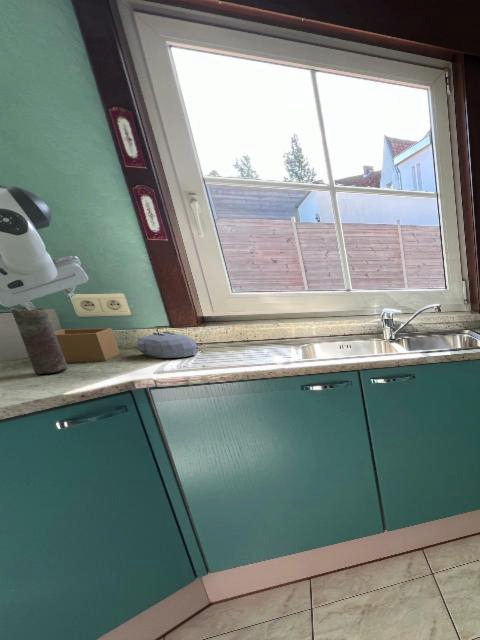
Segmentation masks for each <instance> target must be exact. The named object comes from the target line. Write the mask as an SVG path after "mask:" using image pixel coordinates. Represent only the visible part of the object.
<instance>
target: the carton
mask: <svg viewBox="0 0 480 640" xmlns="http://www.w3.org/2000/svg"><path fill="white" fill-rule="evenodd" d="M54 332H55V335H56V337H57V340H58V343H59V345H60V348H61V350H62V353H63V356H64V358H65V361H66V364H68V363H69V364H70V363H89V362H90V363H91V362H106V361H108V360H111V359H112V358H115V357H118V356H119V355H120V354H121V352H120V349H119V346H118V343H117V340H116V338H115V335H114V331H113V329H112V327H106V328H105V327H104V328H102V327H101V328H67V329H66V328H65V329H64V328H63V329H60V330H56V331H54Z"/></svg>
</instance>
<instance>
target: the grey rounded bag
mask: <svg viewBox="0 0 480 640" xmlns="http://www.w3.org/2000/svg"><path fill="white" fill-rule="evenodd" d="M136 346H137V347H138V350H139V351H140V353H141V354H143V355H145V356H146V357H149V358H153V359H182V358H186V357H191V356H195V355H197V354H198V344H197V342H196V341H195V340H194V339H192V338H191V337H190V336H189V335H185V334H180V333H174V332H170V331H162V333H161V332H152V334H149V335H145V336H141V337H138V339H137V341H136Z"/></svg>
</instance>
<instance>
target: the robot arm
mask: <svg viewBox="0 0 480 640" xmlns="http://www.w3.org/2000/svg"><path fill="white" fill-rule="evenodd" d="M51 222H52V211H51V209H50V207H49V206H48V205H47V204H46V202H45V201H44V200H43V199H42V198H41V197H39V196H38V195H37V194H35V193H34V192H31V191H30V190H28V189H25V188H22V187H18V186H15V185H13V186H5V185H2V184H0V256H1V258H0V305H1V306H2V307H5V308H13V307H16V306H18V305H20V306H21V307H26V308H27V309H28V310H30V311H31V310H34V309H36V308H37V307H36V306H35V304H34V303H32V302H31V301H33V300H36V299H39V298H42V297H46V296H48V295H52V294H55V293H58V292H60V291H63V293H64V295H65V296H67V297H68V298H72V297H75V296H76V294H75V293H74V292H75V290H76V289H77V286H79V285H82V284H85V283H87V282H88V281H89V276H88V274H87V273H86V272H85V269H83V268H82V267H81V266H82V262H81V260H80V258H79V257H78V256H76V255H75V256H73V255H66V256H63V257H59V258H55V259H52V257H51V255H50V254H49V252H47V250H46V249H47V248H46V245H45V242H44V241H43V239H42V237H41V236H40V234H39V232H38V231H37V230H42V229H44V228H49V227H50V224H51Z"/></svg>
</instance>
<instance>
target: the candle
mask: <svg viewBox="0 0 480 640" xmlns="http://www.w3.org/2000/svg"><path fill="white" fill-rule="evenodd" d="M10 310H11V313H12V314H11V315H12V317H13V319H14V321H15V324H16V326H17V329H18V331H19V334H20V337H21V340H22V342H23V345H24V347H25V350H26V353H27V356H28V358H29V361H30V363H31V367H32V369H33V371H34V374H35V375H43V374H53V373H55V374H56V373H61V372H66V370H68V369H69V367H68V363H66V361H65V358H64V356H63V353H62V350H61V348H60V345H59V343H58V340H57V337H56V335H55V332H56V331H55V330H54V327H53V324H52V321H51V320H50V316H49V313H48V311H47V308H44V307H43V308H42V307H36V309H34V310H31V311H30V310H28V309H27V308H26V307H25V306H12V307H10Z"/></svg>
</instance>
